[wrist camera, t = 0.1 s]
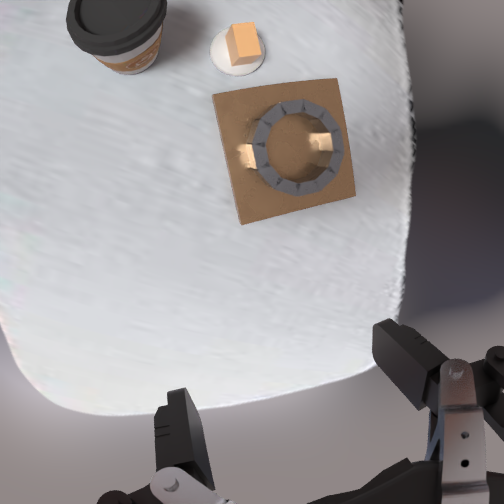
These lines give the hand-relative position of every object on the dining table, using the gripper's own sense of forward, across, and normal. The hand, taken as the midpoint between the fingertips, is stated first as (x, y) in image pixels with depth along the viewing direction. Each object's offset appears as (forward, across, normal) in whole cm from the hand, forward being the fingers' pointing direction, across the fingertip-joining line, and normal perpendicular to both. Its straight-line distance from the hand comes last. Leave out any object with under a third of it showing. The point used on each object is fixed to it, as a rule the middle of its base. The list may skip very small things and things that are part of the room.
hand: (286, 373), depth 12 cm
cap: (+29, -8, -19) cm, 36 cm away
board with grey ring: (+29, -12, -6) cm, 32 cm away
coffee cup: (+29, +4, -22) cm, 37 cm away
